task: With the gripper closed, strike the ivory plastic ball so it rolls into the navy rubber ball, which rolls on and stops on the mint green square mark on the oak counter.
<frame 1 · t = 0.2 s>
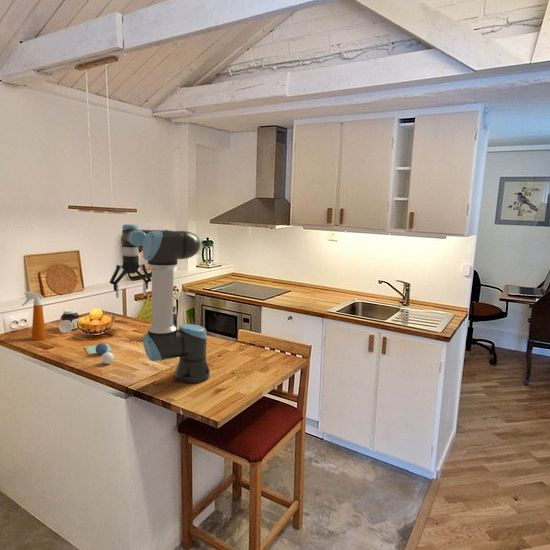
hand: (131, 296, 211), 28 cm above the countertop, tool pointing down, fingers open, 13 cm apart
cue ball: (107, 358, 193), on the countertop
spread jar: (69, 330, 239), on the countertop
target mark: (98, 349, 211), on the countertop
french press: (168, 336, 238), on the countertop
object ball: (101, 348, 204), on the countertop
spray bottle: (35, 339, 222), on the countertop
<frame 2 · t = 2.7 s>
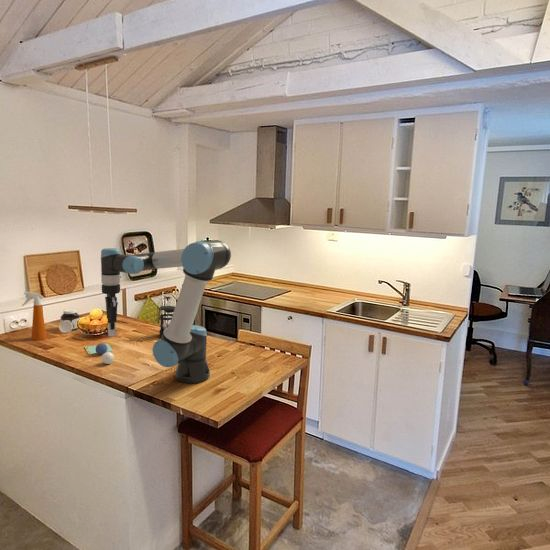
hand: (111, 335, 183), 16 cm above the countertop, tool pointing down, fingers closed
nothing on the countertop moved.
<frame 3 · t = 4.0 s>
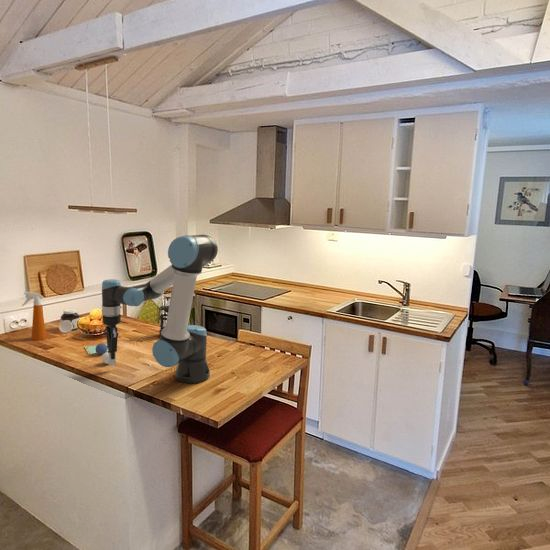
hand: (112, 365, 185), 3 cm above the countertop, tool pointing down, fingers closed
nothing on the countertop moved.
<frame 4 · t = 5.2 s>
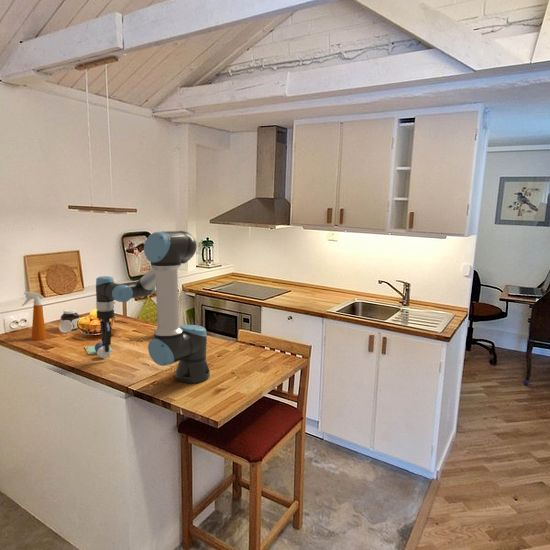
hand: (106, 357, 195), 2 cm above the countertop, tool pointing down, fingers closed
cue ball: (103, 352, 200), on the countertop
object ball: (100, 347, 206), on the countertop
everything else where it was.
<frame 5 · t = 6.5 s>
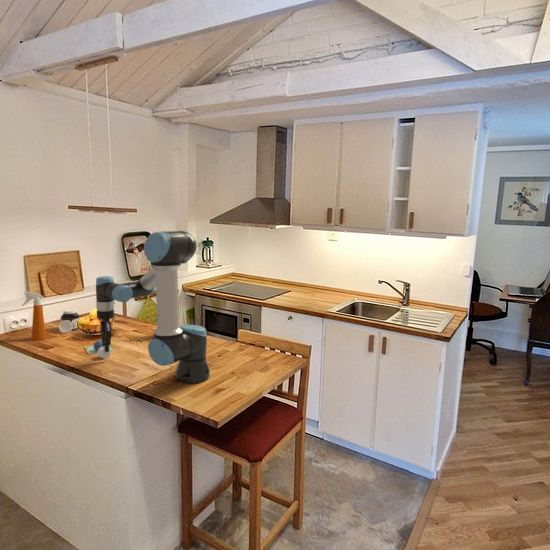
hand: (106, 357, 195), 2 cm above the countertop, tool pointing down, fingers closed
object ball: (99, 345, 208), on the countertop
everything else where it was.
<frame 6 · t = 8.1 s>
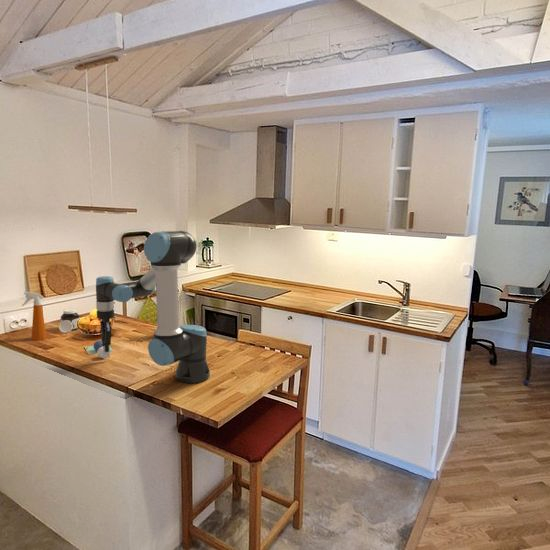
hand: (106, 357, 195), 2 cm above the countertop, tool pointing down, fingers closed
nothing on the countertop moved.
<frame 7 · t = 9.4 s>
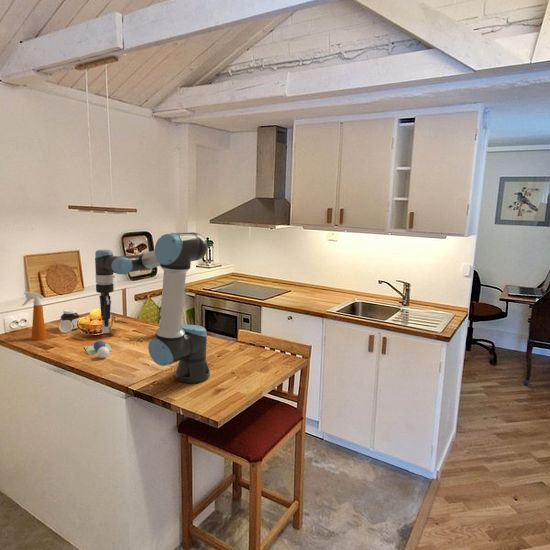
hand: (105, 332, 193), 14 cm above the countertop, tool pointing down, fingers closed
nothing on the countertop moved.
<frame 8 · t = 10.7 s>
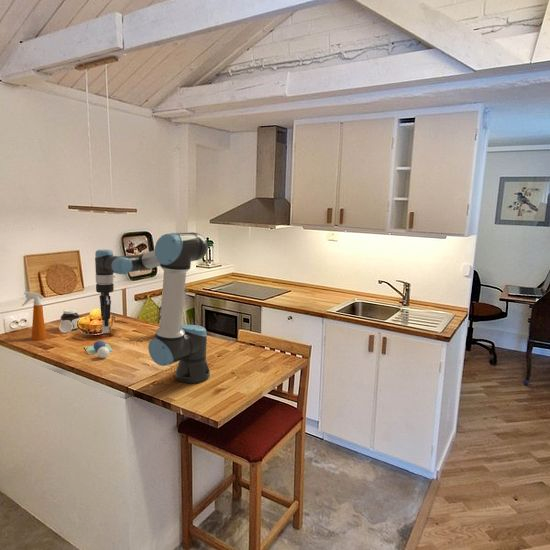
hand: (105, 332, 193), 14 cm above the countertop, tool pointing down, fingers closed
nothing on the countertop moved.
at the end: object ball 3.2 cm from the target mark (horizontally); object ball never touched the robot; cue ball first touched object ball at 4.9 s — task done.
